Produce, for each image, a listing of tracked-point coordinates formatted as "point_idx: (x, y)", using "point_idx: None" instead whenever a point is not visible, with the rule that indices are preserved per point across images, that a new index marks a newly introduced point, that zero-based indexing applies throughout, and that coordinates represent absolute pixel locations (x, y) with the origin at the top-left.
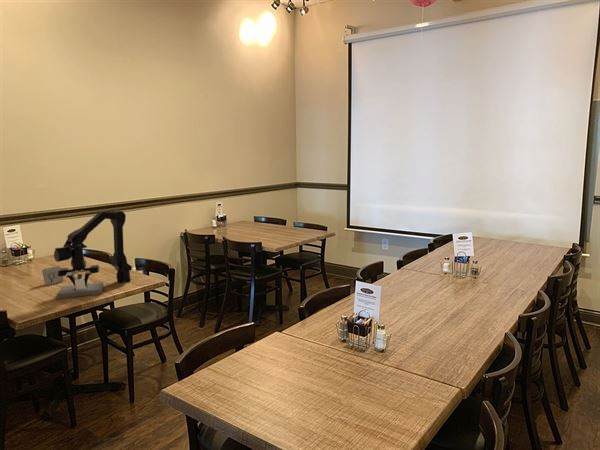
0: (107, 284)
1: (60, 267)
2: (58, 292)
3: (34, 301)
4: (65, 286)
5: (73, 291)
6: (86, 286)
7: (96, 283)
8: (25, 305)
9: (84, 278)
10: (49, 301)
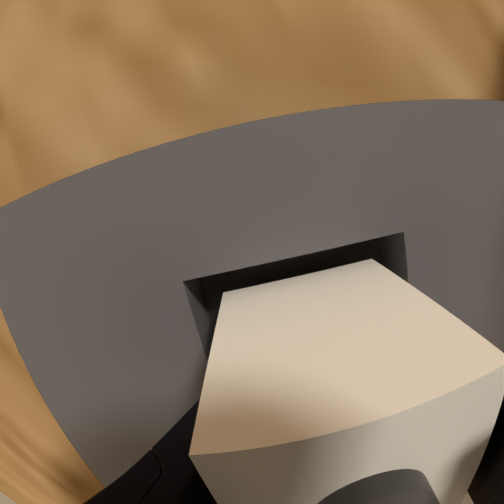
0: (491, 44)
1: None
2: (85, 460)
3: (3, 441)
4: (10, 233)
5: None
6: (369, 237)
7: (486, 138)
8: (17, 480)
9: (470, 475)
10: (98, 482)
